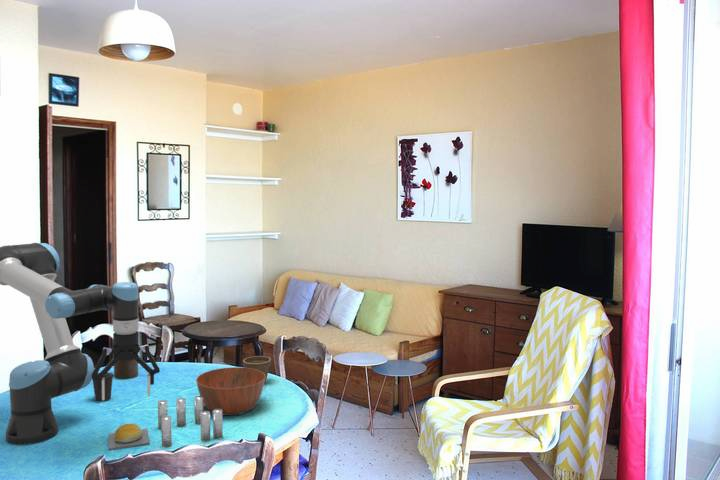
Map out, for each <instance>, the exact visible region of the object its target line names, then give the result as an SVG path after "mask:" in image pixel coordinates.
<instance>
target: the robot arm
mask: <svg viewBox="0 0 720 480" xmlns="http://www.w3.org/2000/svg"><path fill="white" fill-rule="evenodd" d="M60 263H61V260H60V257H59V254H58V252H57V250H56V248H54V247H53V246H52V245H50V244H48V243H45V242H32V243H23V244H12V245H9V244H8V245H2V246H0V285H1V286H10V287H11V288H13V289H14V290H16V291H18V292H20V293H22V294H23V295H25V296H27V297H28V298H29V300H30V303H31V306H32V309H33V313H34V316H35V318H36V322H37V325H38V328H39V331H40V334H41V338H42V340H43V341H42V342H43V343H44V348H45V350H46V356H45V358H44V359H39V360H38V359H37V360H34V361H26V362H24V363H21V364H19V365H17V366H15V367H14V368H13V369H12V370H11V371H10V373H9V379H8V381H9V382H8V387H9V397H10V398H9V399H10V400H9V401H10V403H9V404H10V418H9V421H8V424H7V427H6V430H5V441H6V443H8V444H10V443H11V445H16V446H17V445H18V446H19V445H21V446H24V445H31V444H37V443H40V442H41V443H42V442H44V441H47V440H50V439H52V438H54V437H55V436H56V435H57V434H58V433H59V424H58V421H57V419H56V417H55V414H54V412H53V409H52V399H55V398H58V397H60V396H61V397H62V396H63V395H67V394H70V393H73V392H77V391H79V390H81V389H85V388H86V387H88V386H89V385H90V384H91V382H93V380H92V378H93V379H94V378H95V379H97V380H98V389H99V390H100V389H102V400H105V382H104V376H105V375H106V373H107V372H108V373H109V371H110V370H111V369H112V368H114V364H115V363H116V362H117V361H118V360H119V361H131V360H133V359H135V360H136V361H137V362H138V365H140V367H142V368H143V369H144V370H145V371H146V372H147V375H146V377H147V379H146V380H147V381H146V383H147V384H146V385H147V387H146V389H147V391H146V392H147V393H146V394H147V396H149V397H150V396H151V385H154V383H155V375H156V374H160V372H161V370H160V367H159V365H158V364H157V362H156V360H155V358H154V356H153V355H152V353H151V351H150V347H149V344H148V343H146V344H144V345H140V344H139V343H140V342H139V335H140V334H139V331H138V330H139V326H140V323H139V297H140V295H139V286H138V284H137V283H135V282H132V281H131V282H129V281H128V282H127V281H122V282H121V281H120V282H116V283H114V284H112V286H109V285H104V284H92V285H90V286H88V287H87V288H83V289H76V290H71V289H69V288H67V287H64V286H62V285H61V284H59V283H57V282H55V279H56V278H57V277H58V275H57V272H58V271H59V269H60ZM98 311H110V312H112V331H113V335H112V338H113V339H112V347H106V346H104V347H102V352H101V355H100V357H99V359H98V360H97V363H96V365H95V366H94V362H93V359H92V358H91V357H90V356H89V354H86V353H82V350H81V348H80V347H79V346H76V345H75V344H74V341H73V338H72V335H71V332H70V331H71V330H70V328H69V325H68V322H67V319H66V318H70V317H75V316H79V315H82V314H83V315H84V314H89V313H93V312H98ZM140 351H142V352H143V353H145V356H146V357H147V358H148V360H149V362H150V364H151V365H152V367H153V368H151V366H149V365H148V363H146V361H145V360H144V359H143V358H142V357H141V356H140V355H139V352H140ZM111 353H112V354H113V357H112V358H111V359H110V361H108V363H107V364H106V366H104V367H103V369H102V370H100V369H101V367H102V366H103V364H104V362H105V359H106V358H107V356H109V355H110V354H111ZM114 355H115V356H114ZM99 371H100V372H99ZM98 373H99V374H98Z"/></svg>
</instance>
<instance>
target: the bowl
mask: <svg viewBox="0 0 720 480" xmlns="http://www.w3.org/2000/svg"><path fill="white" fill-rule="evenodd" d="M195 380H196V386H197V390H198V391H197V392H198V393H199V396H203V401H204V406H205V408H206V409H207V411H210V413H213V410H214V409H222V416H234V415H235V416H236V415H240V414H241V415H242V414H244V413H247V412H249V411H251V410H252V409H254V408H255V407H256V405H257V404H258V403H259V400H260V398H261V396H262V393H263V390H264V386H265V384H264V382H265V374H264V373H263V372H261V371H259V370H256V369H252V368H245V367H241V366H240V367H239V366H238V367H236V366H235V367H222V368H216V369H211V370H209V371H205V372H203V373H201V374H199V375H198V376H197V377H196V379H195Z"/></svg>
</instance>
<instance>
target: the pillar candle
mask: <svg viewBox="0 0 720 480" xmlns="http://www.w3.org/2000/svg"><path fill="white" fill-rule="evenodd" d="M114 356H115V355H114V354H113V357H114ZM113 375H114V376H113V378H114V379H117V380H130V379H134V378H137V377H139V363H138V362H137V361H136V360H135V359H133V360H131V361H119V360H118V361H117V362H116V363H115V364H114V365H113Z"/></svg>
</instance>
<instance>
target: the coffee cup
mask: <svg viewBox="0 0 720 480" xmlns="http://www.w3.org/2000/svg"><path fill="white" fill-rule="evenodd" d="M99 373H100V372H98V374H99ZM113 378H114V373H113V372H109V371H108V372H107V373H106V375H105V376H104V382H105V400H102V389H100V390H99V389H98V380H97V379H95V378H94V379H93V378H92V385H93V392H94V399H95V401H96V402H99V403H101V402H107V401H110V400H112V399H111V397H112V387H113Z"/></svg>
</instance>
